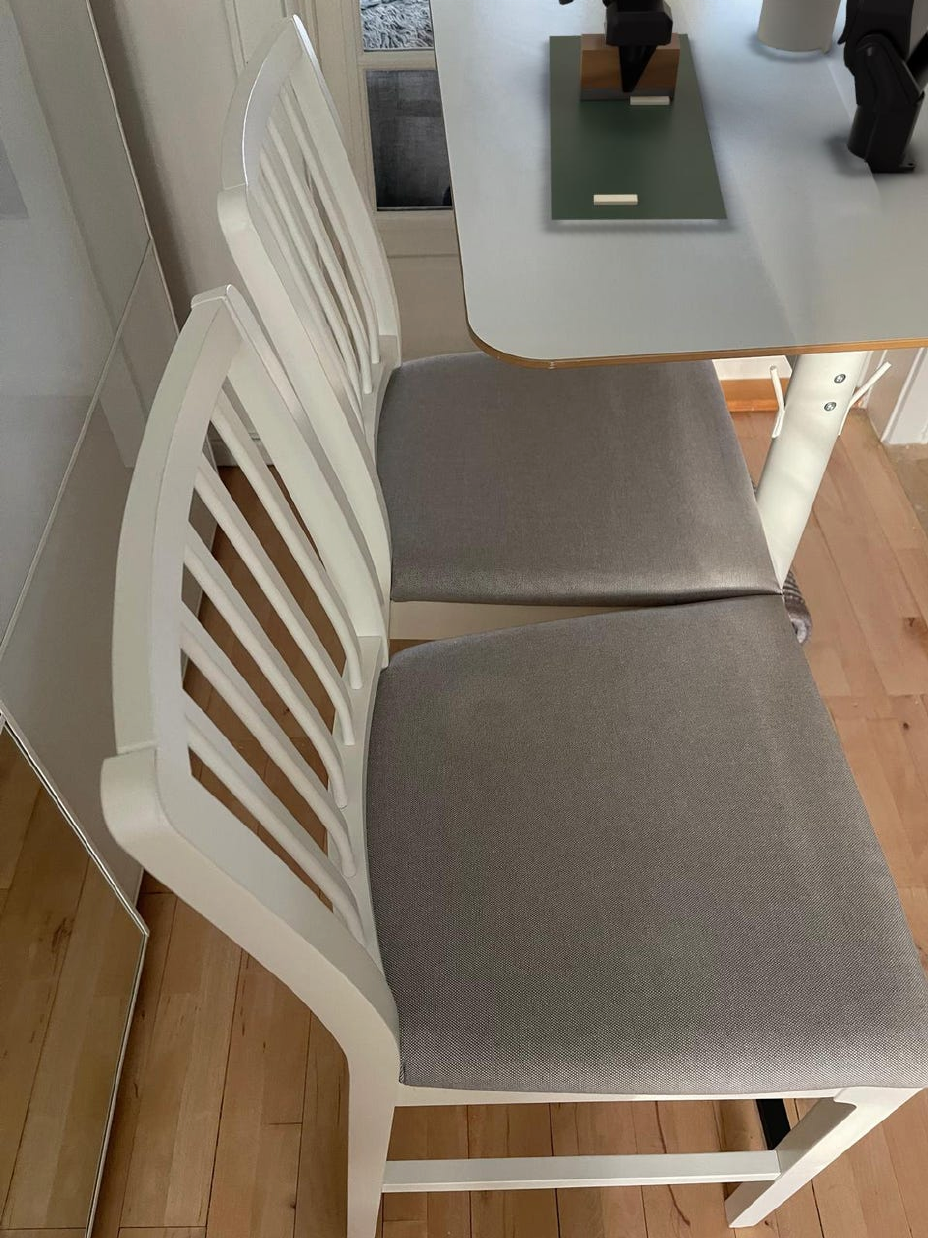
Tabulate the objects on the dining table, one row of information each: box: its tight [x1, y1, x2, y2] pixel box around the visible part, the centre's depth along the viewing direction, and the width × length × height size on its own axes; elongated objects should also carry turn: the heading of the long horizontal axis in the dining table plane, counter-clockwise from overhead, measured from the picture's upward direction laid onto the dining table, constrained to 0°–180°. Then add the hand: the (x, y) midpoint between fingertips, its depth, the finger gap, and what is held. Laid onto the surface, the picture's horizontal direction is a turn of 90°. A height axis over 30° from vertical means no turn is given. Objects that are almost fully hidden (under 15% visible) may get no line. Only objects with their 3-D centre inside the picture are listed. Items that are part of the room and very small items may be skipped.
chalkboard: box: [548, 33, 728, 221], centre depth 103 cm, size 40×16×1 cm, turn 177°
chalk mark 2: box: [630, 96, 670, 105], centre depth 104 cm, size 1×4×1 cm, turn 87°
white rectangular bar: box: [594, 195, 638, 205], centre depth 92 cm, size 1×4×1 cm, turn 87°
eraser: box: [579, 32, 681, 100], centre depth 104 cm, size 4×10×5 cm, turn 87°
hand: (626, 82), depth 105 cm, fingers closed on eraser, 4 cm apart
